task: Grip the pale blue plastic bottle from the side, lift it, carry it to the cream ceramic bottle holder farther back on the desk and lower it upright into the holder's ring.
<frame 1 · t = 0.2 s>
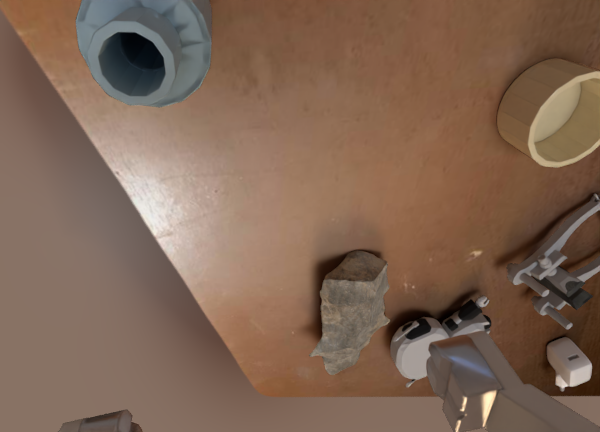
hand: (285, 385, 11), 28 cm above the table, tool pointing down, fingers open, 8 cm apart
bike brake: (572, 238, 52), on the table
holder: (538, 104, 40), on the table
bottle: (170, 9, 29), on the table
power adapter: (554, 353, 69), on the table
robot toy: (432, 324, 58), on the table
stone tool: (346, 307, 52), on the table
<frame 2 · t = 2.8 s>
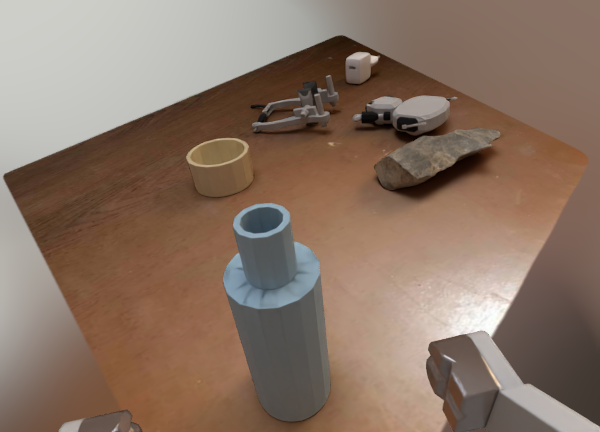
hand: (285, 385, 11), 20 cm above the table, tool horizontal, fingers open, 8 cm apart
bike brake: (286, 122, 77), on the table
holder: (224, 180, 60), on the table
bottle: (293, 384, 32), on the table
power adapter: (363, 78, 93), on the table
robot toy: (402, 126, 70), on the table
stone tool: (438, 166, 58), on the table
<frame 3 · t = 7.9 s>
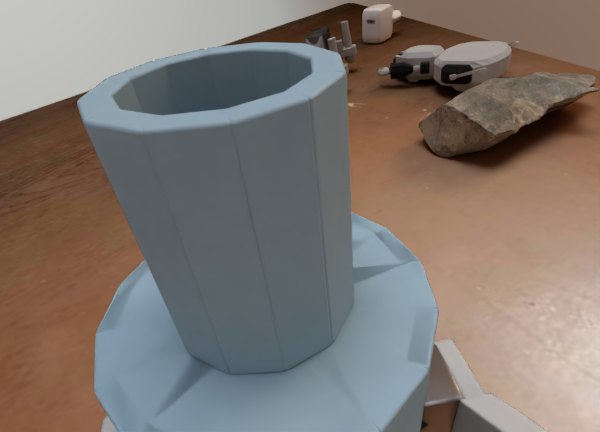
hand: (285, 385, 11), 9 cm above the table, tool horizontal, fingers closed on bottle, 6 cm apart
bike brake: (289, 83, 59), on the table
power adapter: (383, 38, 76), on the table
robot toy: (443, 83, 53), on the table
stone tool: (507, 127, 40), on the table
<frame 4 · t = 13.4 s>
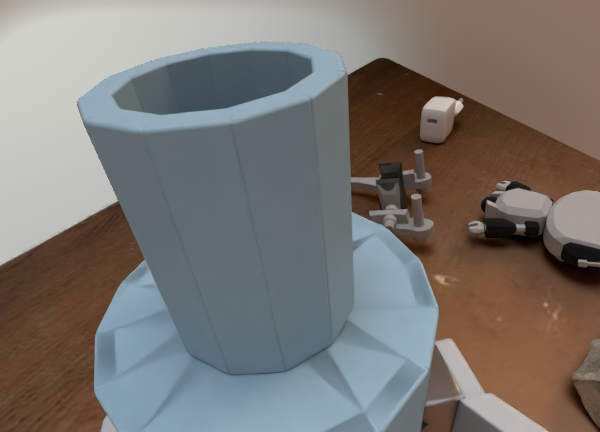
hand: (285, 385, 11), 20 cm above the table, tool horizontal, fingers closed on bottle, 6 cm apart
bike brake: (348, 218, 49), on the table
power adapter: (440, 131, 66), on the table
robot toy: (549, 240, 42), on the table
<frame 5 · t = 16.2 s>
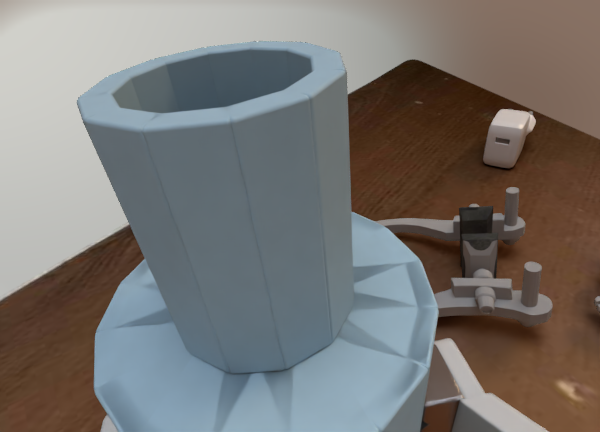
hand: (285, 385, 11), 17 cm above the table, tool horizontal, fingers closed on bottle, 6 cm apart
bike brake: (409, 277, 36), on the table
power adapter: (505, 151, 53), on the table
when the fingers open (9 cm above the table, at t = 18.9 s): bottle stays where it is, resting on holder.
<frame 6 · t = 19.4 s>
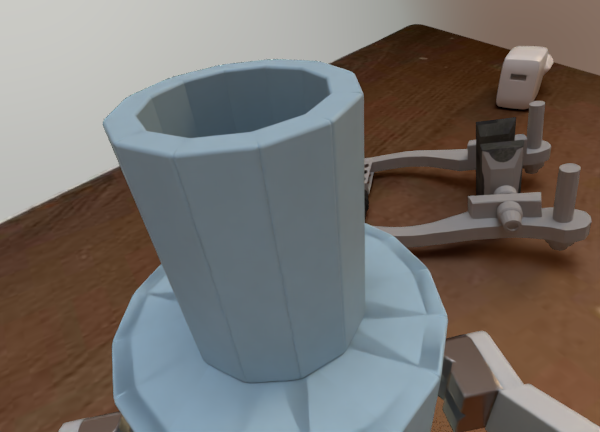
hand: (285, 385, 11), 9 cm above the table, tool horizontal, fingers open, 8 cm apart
bike brake: (417, 211, 32), on the table
power adapter: (520, 96, 49), on the table
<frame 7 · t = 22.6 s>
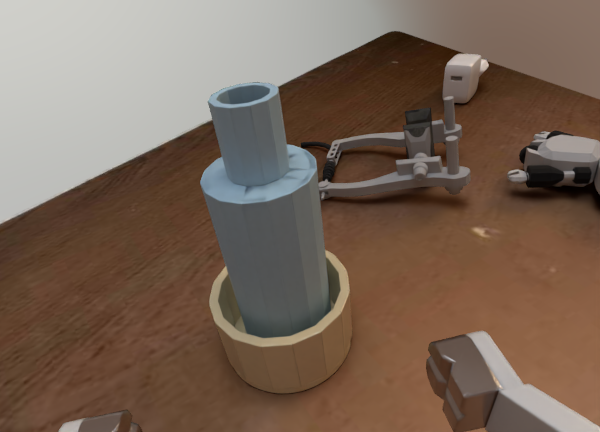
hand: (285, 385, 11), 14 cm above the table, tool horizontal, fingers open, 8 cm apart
bike brake: (370, 176, 45), on the table
holder: (289, 334, 28), on the table
bottle: (290, 328, 28), point 1 cm above the table, touching holder
power adapter: (464, 93, 61), on the table
robot toy: (599, 190, 38), on the table
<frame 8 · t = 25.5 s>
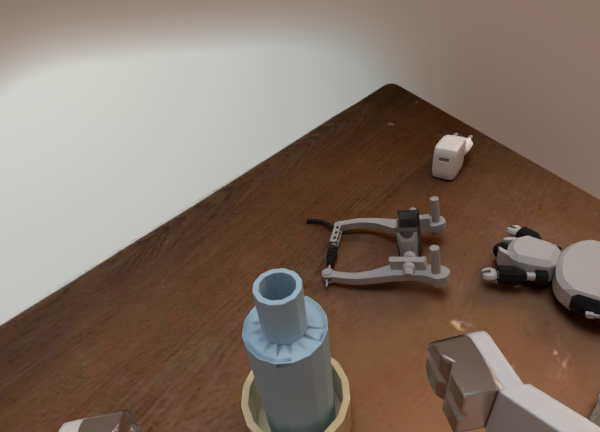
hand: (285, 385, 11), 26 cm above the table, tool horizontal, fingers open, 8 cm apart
bike brake: (367, 259, 52), on the table
holder: (301, 421, 36), on the table
bottle: (302, 417, 35), point 1 cm above the table, touching holder
power adapter: (451, 166, 69), on the table
robot toy: (557, 285, 45), on the table
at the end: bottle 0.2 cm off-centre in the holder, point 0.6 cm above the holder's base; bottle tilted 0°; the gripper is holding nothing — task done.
